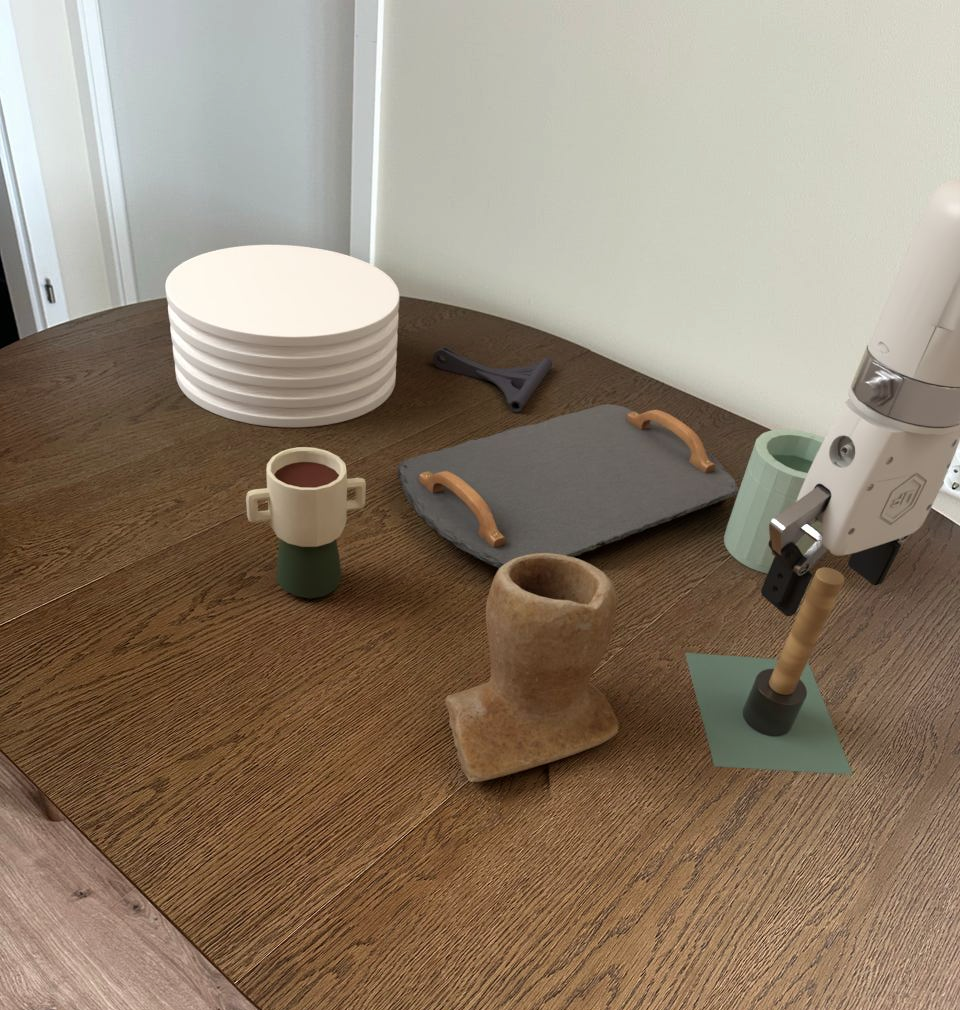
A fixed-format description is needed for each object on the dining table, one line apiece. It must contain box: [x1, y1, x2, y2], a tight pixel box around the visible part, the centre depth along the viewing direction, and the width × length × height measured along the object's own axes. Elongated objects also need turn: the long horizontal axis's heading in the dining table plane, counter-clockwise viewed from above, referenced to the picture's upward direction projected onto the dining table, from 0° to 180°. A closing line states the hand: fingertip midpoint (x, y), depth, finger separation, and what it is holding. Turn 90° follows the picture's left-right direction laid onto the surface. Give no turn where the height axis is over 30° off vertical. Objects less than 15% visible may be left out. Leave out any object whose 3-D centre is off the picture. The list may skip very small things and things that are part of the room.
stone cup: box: [444, 553, 619, 783], centre depth 75 cm, size 15×12×15 cm
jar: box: [723, 428, 825, 575], centre depth 100 cm, size 10×10×12 cm
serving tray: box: [396, 403, 740, 570], centre depth 106 cm, size 39×23×6 cm, turn 126°
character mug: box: [245, 446, 367, 599], centre depth 87 cm, size 11×7×13 cm, turn 111°
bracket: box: [432, 346, 553, 413], centre depth 127 cm, size 14×15×3 cm
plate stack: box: [164, 244, 400, 428], centre depth 119 cm, size 28×28×12 cm
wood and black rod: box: [743, 566, 845, 736], centre depth 78 cm, size 4×4×16 cm
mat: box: [684, 652, 854, 776], centre depth 84 cm, size 12×14×1 cm
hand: (821, 589), depth 73 cm, fingers open, 9 cm apart
